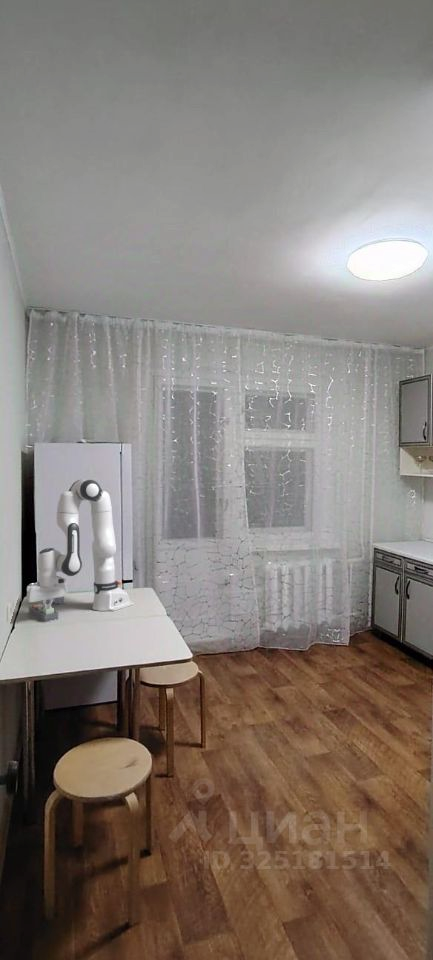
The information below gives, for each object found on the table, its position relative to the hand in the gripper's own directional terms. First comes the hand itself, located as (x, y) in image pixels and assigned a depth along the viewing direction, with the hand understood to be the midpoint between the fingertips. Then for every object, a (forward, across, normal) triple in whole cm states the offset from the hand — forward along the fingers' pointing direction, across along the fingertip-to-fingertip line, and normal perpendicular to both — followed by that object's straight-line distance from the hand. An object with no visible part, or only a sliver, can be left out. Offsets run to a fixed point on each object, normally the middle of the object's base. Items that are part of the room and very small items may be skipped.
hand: (47, 607), depth 252 cm
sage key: (+3, 0, 0) cm, 3 cm away
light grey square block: (+3, 0, +6) cm, 7 cm away
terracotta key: (+5, 0, +13) cm, 14 cm away
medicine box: (+6, +15, +24) cm, 29 cm away
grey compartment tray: (+6, 0, +6) cm, 9 cm away
